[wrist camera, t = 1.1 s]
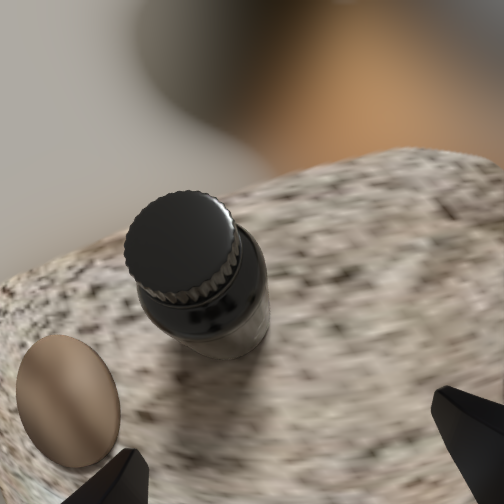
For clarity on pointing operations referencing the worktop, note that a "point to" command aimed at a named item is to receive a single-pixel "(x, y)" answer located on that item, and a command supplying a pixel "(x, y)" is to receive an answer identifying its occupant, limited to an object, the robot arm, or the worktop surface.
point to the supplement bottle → (199, 274)
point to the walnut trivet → (68, 401)
